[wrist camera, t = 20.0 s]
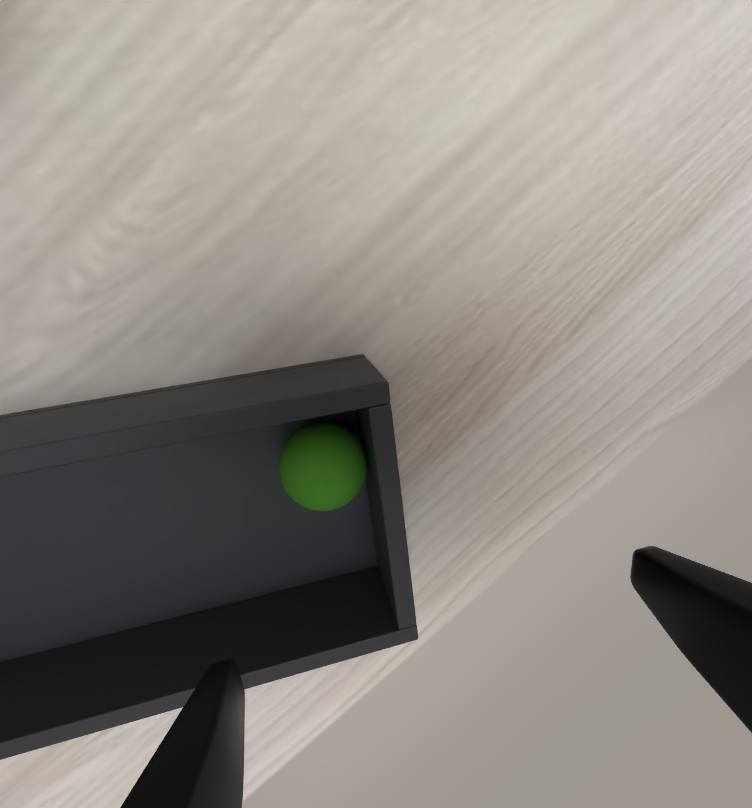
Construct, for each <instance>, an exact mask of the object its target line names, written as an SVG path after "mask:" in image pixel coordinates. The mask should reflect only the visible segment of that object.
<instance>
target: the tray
mask: <svg viewBox="0 0 752 808" xmlns="http://www.w3.org/2000/svg"><path fill="white" fill-rule="evenodd" d="M315 423H333V424H337V425H340V426H342V427H344V428H346V429H348V430H349V431H350V432H352V433H353V434H354V435H355V436H356V437H357V438H358V440H359V441H360V443H361V444H362V446H363V448H364V451H365V453H366V458H367V474H366V478H365V482H364V484H363V486H362V488H361V490H360V491H359V493H358V494H357V495H356V496H355V497H354V498H353V499H352V500H351V501H350V502H349V503H347V504H346V505H344V506H342V507H340V508H337V509H334V510H330V511H315V510H311V509H307V508H305V507H303V506H301V505H299V504H298V503H296V502H295V501H294V500H293V499H292V498H291V497H290V496H289V495H288V494H287V492H286V491H285V489H284V487H283V485H282V482H281V479H280V474H279V461H280V456H281V453H282V450H283V448H284V446H285V444H286V443H287V441H288V440H289V439H290V438H291V437H292V436H293V435H294V434H295V433H296V432H297V431H298V430H300V429H302V428H304V427H306V426H308V425H311V424H315ZM417 639H418V632H417V625H416V616H415V607H414V599H413V590H412V582H411V573H410V564H409V556H408V547H407V539H406V530H405V522H404V513H403V505H402V496H401V488H400V479H399V470H398V462H397V453H396V445H395V436H394V428H393V419H392V411H391V405H390V393H389V385H388V381H387V380H386V379H385V378H384V377H383V376H382V375H381V374H380V372H379V371H378V370H377V369H376V368H375V367H374V366H373V365H372V364H371V362H370V361H369V360H368V359H367V358H366V357H365V356H364V355H363V354H361V355H355V356H349V357H343V358H338V359H332V360H326V361H320V362H314V363H308V364H302V365H296V366H290V367H284V368H278V369H273V370H267V371H261V372H255V373H249V374H243V375H237V376H231V377H225V378H219V379H213V380H208V381H202V382H196V383H190V384H184V385H178V386H172V387H166V388H160V389H154V390H148V391H143V392H137V393H131V394H125V395H119V396H113V397H107V398H101V399H95V400H89V401H83V402H78V403H72V404H66V405H60V406H54V407H48V408H42V409H36V410H30V411H24V412H18V413H13V414H7V415H1V416H0V760H1V759H4V758H8V757H11V756H15V755H18V754H22V753H25V752H29V751H32V750H36V749H39V748H43V747H46V746H50V745H53V744H56V743H60V742H63V741H67V740H70V739H74V738H77V737H81V736H84V735H88V734H91V733H95V732H98V731H102V730H105V729H108V728H112V727H115V726H119V725H122V724H126V723H129V722H133V721H136V720H140V719H143V718H147V717H150V716H154V715H157V714H160V713H164V712H167V711H171V710H174V709H178V708H181V707H184V706H185V704H186V702H187V701H188V699H189V698H190V696H191V694H192V693H193V691H194V690H195V688H196V686H197V685H198V683H199V682H200V680H201V679H202V677H203V675H204V674H205V672H206V671H207V669H208V667H209V666H210V665H211V664H212V663H214V662H216V661H220V660H224V659H228V658H233V659H234V661H235V663H236V665H237V668H238V671H239V674H240V677H241V680H242V683H243V686H244V689H247V688H251V687H254V686H257V685H261V684H264V683H268V682H271V681H275V680H278V679H282V678H285V677H289V676H292V675H296V674H299V673H303V672H306V671H309V670H313V669H316V668H320V667H323V666H327V665H330V664H334V663H337V662H341V661H344V660H348V659H351V658H355V657H358V656H361V655H365V654H368V653H372V652H375V651H379V650H382V649H386V648H389V647H393V646H396V645H400V644H403V643H407V642H410V641H413V640H417Z"/></svg>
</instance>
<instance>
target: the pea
mask: <svg viewBox="0 0 752 808" xmlns="http://www.w3.org/2000/svg"><path fill="white" fill-rule="evenodd" d="M279 474H280V479H281V482H282V485H283V487H284V489H285V491H286V492H287V494H288V495H289V496H290V497H291V498H292V499H293V500H294V501H295V502H296V503H298V504H299V505H301V506H303V507H305V508H307V509H311V510H315V511H330V510H334V509H337V508H340V507H342V506H344V505H346V504H347V503H349V502H350V501H351V500H352V499H353V498H354V497H355V496H356V495H357V494H358V493H359V491H360V490H361V488H362V486H363V484H364V482H365V478H366V474H367V458H366V453H365V451H364V448H363V446H362V444H361V443H360V441H359V440H358V438H357V437H356V436H355V435H354V434H353V433H352V432H350V431H349V430H348V429H346V428H344V427H342V426H340V425H337V424H333V423H315V424H311V425H308V426H306V427H304V428H302V429H300V430H298V431H297V432H296V433H295V434H294V435H293V436H292V437H291V438H290V439H289V440H288V441H287V443H286V444H285V446H284V448H283V450H282V453H281V456H280V461H279Z"/></svg>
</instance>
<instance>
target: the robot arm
mask: <svg viewBox="0 0 752 808" xmlns="http://www.w3.org/2000/svg"><path fill="white" fill-rule="evenodd" d="M631 582H632V585H633V587H634V588H635V590H636V591H637V593H638V594H639V595H640V597H641V598H642V600H643V601H644V602H645V604H646V605H647V606H648V608H649V609H650V610H651V611H652V613H653V614H654V616H655V617H656V618H657V620H658V621H659V623H660V624H661V625H662V627H663V628H664V629H665V631H666V632H667V633H668V635H669V636H670V637H671V639H672V640H673V641H674V643H675V644H676V645H677V647H678V648H679V649H680V650H681V652H682V653H683V654H684V655H685V657H686V658H687V659H688V660H689V661H690V663H691V664H692V665H693V666H694V667H695V668H696V670H697V671H698V672H699V673H700V674H701V675H702V676H703V678H704V679H705V680H706V681H707V682H708V683H709V684H710V686H711V687H712V688H713V689H714V690H715V691H716V692H717V694H718V695H719V696H720V697H721V698H722V699H723V701H724V702H725V703H726V704H727V705H728V706H729V707H730V708H731V710H732V711H733V712H734V713H735V714H736V715H737V717H738V718H739V719H740V720H741V721H742V722H743V723H744V724H745V726H746V727H747V728H748V729H749V730H750V731H751V733H752V583H750V582H748V581H745V580H742V579H740V578H737V577H734V576H732V575H729V574H726V573H724V572H721V571H718V570H716V569H713V568H711V567H708V566H705V565H703V564H700V563H697V562H695V561H691V560H689V559H687V558H684V557H681V556H679V555H676V554H673V553H671V552H668V551H665V550H662V549H660V548H657V547H654V546H648V547H644V548H640V549H637V550H635V551H634V553H633V559H632V567H631ZM244 718H245V693H244V686H243V683H242V680H241V677H240V674H239V671H238V668H237V665H236V663H235V661H234V659H233V658H228V659H224V660H220V661H216V662H214V663H212V664H211V665H210V666H209V667H208V669H207V671H206V672H205V674H204V675H203V677H202V679H201V680H200V682H199V683H198V685H197V686H196V688H195V690H194V691H193V693H192V694H191V696H190V698H189V699H188V701H187V702H186V704H185V706H184V707H183V709H182V710H181V712H180V714H179V715H178V717H177V718H176V720H175V722H174V723H173V725H172V726H171V728H170V730H169V731H168V733H167V734H166V736H165V737H164V739H163V741H162V742H161V744H160V745H159V747H158V749H157V750H156V752H155V753H154V755H153V757H152V758H151V760H150V761H149V763H148V765H147V766H146V768H145V769H144V771H143V773H142V774H141V776H140V777H139V779H138V781H137V782H136V784H135V785H134V787H133V789H132V790H131V792H130V793H129V795H128V796H127V798H126V800H125V801H124V803H123V804H122V806H121V808H242V797H243V776H244Z"/></svg>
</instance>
